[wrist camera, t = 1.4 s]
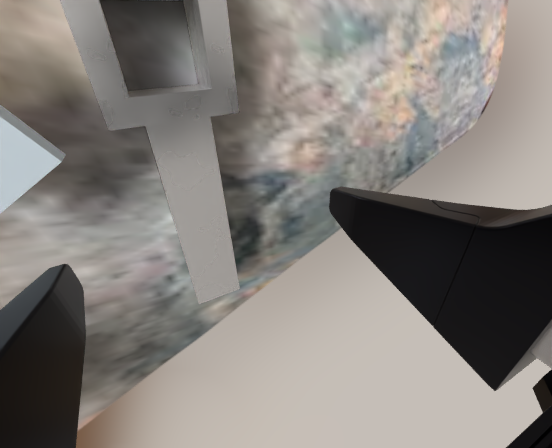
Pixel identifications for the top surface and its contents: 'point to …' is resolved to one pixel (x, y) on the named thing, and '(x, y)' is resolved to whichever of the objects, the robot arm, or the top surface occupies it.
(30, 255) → the top surface
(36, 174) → the pair of pale-grey parts
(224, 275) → the link
